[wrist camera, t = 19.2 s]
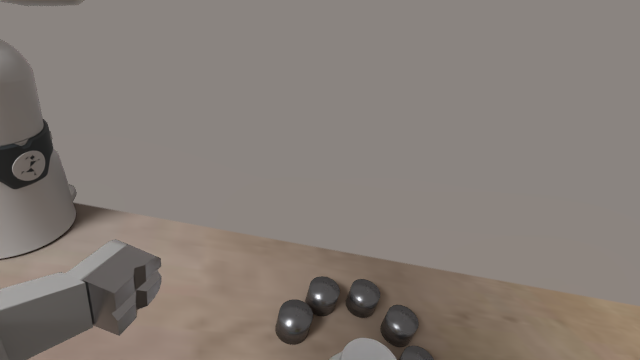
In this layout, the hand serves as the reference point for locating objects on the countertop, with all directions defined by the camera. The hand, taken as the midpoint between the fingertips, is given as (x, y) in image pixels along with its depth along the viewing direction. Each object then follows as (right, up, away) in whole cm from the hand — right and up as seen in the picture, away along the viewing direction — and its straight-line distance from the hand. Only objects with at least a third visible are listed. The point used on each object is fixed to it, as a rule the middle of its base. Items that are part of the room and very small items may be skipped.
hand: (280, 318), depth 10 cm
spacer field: (+6, -15, +34) cm, 37 cm away
